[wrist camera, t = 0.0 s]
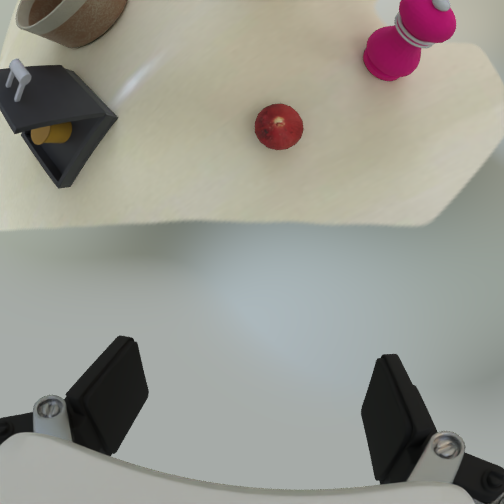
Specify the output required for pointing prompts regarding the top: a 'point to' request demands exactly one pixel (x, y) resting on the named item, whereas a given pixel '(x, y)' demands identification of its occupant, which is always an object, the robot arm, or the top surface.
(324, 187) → the top surface
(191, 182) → the top surface
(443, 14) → the pepper mill
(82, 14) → the planter
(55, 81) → the lid
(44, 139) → the coffee pod
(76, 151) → the dark grey lidded tray
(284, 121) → the onion
